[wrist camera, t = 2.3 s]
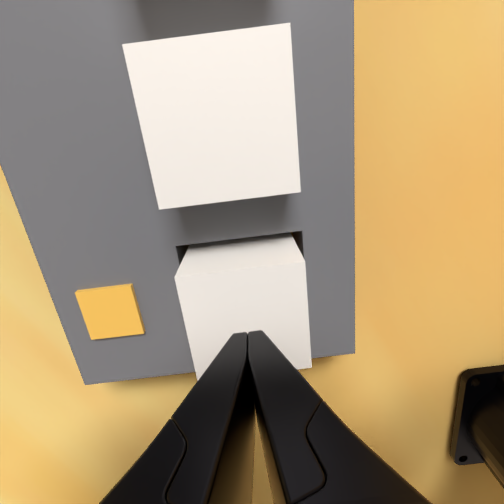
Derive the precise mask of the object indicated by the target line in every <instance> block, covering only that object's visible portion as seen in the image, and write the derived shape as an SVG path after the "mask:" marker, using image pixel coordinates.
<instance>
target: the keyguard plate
mask: <svg viewBox="0 0 504 504" xmlns="http://www.w3.org/2000/svg"><path fill="white" fill-rule="evenodd" d="M283 23H290V27H291V42H292V58H293V74H294V90H295V106H296V122H297V138H298V154H299V170H300V186H301V192H298V193H290V194H282V195H274V196H266V197H258V198H250V199H241V200H233V201H225V202H217V203H209V204H201V205H193V206H185V207H177V208H168V209H160V210H159V207H158V203H157V198H156V194H155V189H154V185H153V180H152V176H151V171H150V167H149V162H148V158H147V154H146V149H145V145H144V140H143V136H142V131H141V127H140V122H139V118H138V113H137V109H136V104H135V100H134V96H133V91H132V87H131V82H130V78H129V73H128V69H127V64H126V60H125V55H124V51H123V47H122V44H128V43H136V42H143V41H151V40H159V39H167V38H174V37H182V36H190V35H198V34H205V33H213V32H221V31H229V30H237V29H244V28H252V27H260V26H268V25H275V24H283ZM0 165H1V167H2V170H3V172H4V175H5V178H6V180H7V183H8V185H9V188H10V191H11V193H12V196H13V199H14V201H15V204H16V206H17V209H18V212H19V214H20V217H21V219H22V222H23V225H24V227H25V230H26V232H27V235H28V238H29V240H30V243H31V245H32V248H33V251H34V253H35V256H36V258H37V261H38V264H39V266H40V269H41V271H42V274H43V277H44V279H45V282H46V284H47V287H48V290H49V292H50V295H51V298H52V300H53V303H54V305H55V308H56V311H57V313H58V316H59V318H60V321H61V324H62V326H63V329H64V331H65V334H66V337H67V339H68V342H69V344H70V347H71V350H72V352H73V355H74V357H75V360H76V363H77V365H78V368H79V370H80V373H81V376H82V378H83V381H84V383H85V385H89V384H98V383H106V382H115V381H123V380H132V379H140V378H149V377H157V376H166V375H174V374H183V373H191V372H195V368H194V363H193V359H192V354H191V350H190V345H189V341H188V336H187V332H186V328H185V323H184V319H183V314H182V310H181V305H180V301H179V296H178V292H177V287H176V283H175V278H174V277H175V275H176V273H177V270H178V268H179V266H180V264H181V262H182V260H183V258H184V256H185V254H186V251H187V249H188V247H189V245H190V244H197V243H205V242H213V241H221V240H229V239H238V238H246V237H254V236H262V235H271V234H279V233H287V232H293V238H294V240H295V242H296V244H297V246H298V248H299V250H300V252H301V254H302V256H303V258H304V260H305V266H306V282H307V298H308V313H309V329H310V345H311V358H319V357H327V356H336V355H344V354H353V353H355V212H354V0H0Z"/></svg>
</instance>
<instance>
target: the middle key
mask: <svg viewBox="0 0 504 504" xmlns="http://www.w3.org/2000/svg"><path fill="white" fill-rule="evenodd" d="M122 47H123V51H124V55H125V60H126V64H127V69H128V73H129V78H130V82H131V87H132V91H133V96H134V100H135V104H136V109H137V113H138V118H139V122H140V127H141V131H142V136H143V140H144V145H145V149H146V154H147V158H148V162H149V167H150V171H151V176H152V180H153V185H154V189H155V194H156V198H157V203H158V207H159V210H160V209H168V208H177V207H185V206H193V205H201V204H209V203H217V202H225V201H233V200H241V199H250V198H258V197H266V196H274V195H282V194H290V193H298V192H301V186H300V170H299V154H298V138H297V122H296V106H295V90H294V74H293V58H292V42H291V27H290V23H283V24H275V25H268V26H260V27H252V28H244V29H237V30H229V31H221V32H213V33H205V34H198V35H190V36H182V37H174V38H167V39H159V40H151V41H143V42H136V43H128V44H122Z"/></svg>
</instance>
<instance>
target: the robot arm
mask: <svg viewBox="0 0 504 504" xmlns="http://www.w3.org/2000/svg"><path fill="white" fill-rule="evenodd" d="M255 410H256V414H255ZM256 416H257V422H258V427H259V432H260V437H261V442H262V447H263V452H264V457H265V462H266V467H267V472H268V477H269V482H270V487H271V491H272V496H273V501H274V504H433V503H431V502H430V501H429V500H427V499H426V498H425V497H424V496H423V495H422V494H420V493H419V492H418V491H417V490H416V489H415V488H414V487H413V486H411V485H410V484H409V483H408V482H407V481H406V480H405V479H404V478H403V477H402V476H400V475H399V474H398V473H397V472H396V471H395V470H394V469H393V468H392V467H390V466H389V465H388V464H387V463H386V462H385V461H384V460H383V459H382V458H380V457H379V456H378V455H377V454H376V453H375V452H374V451H373V450H372V449H370V448H369V447H368V446H367V445H366V444H365V443H364V442H363V441H362V440H361V439H360V438H359V437H358V436H357V435H355V434H354V433H353V432H352V431H351V430H350V429H349V428H348V427H347V426H346V425H345V424H344V422H343V421H342V420H341V419H340V418H339V417H338V416H337V415H336V414H335V413H334V412H333V411H332V409H331V408H330V407H329V406H328V405H327V404H326V402H324V401H323V399H322V398H321V397H320V396H319V395H318V393H317V392H316V391H315V390H314V389H313V388H312V387H311V385H310V384H309V383H308V382H307V381H306V380H305V379H304V377H303V376H302V375H301V374H300V373H299V372H298V371H297V369H296V368H295V367H294V366H293V365H292V364H291V362H290V361H289V360H288V359H287V358H286V357H285V356H284V354H283V353H282V352H281V351H280V350H279V349H278V348H277V346H276V345H275V344H274V343H273V342H272V341H271V339H270V338H269V337H268V336H267V335H266V334H265V333H264V332H263V331H262V330H257V331H250V332H248V334H247V332H240V333H233V334H232V335H231V337H230V338H229V339H228V341H227V342H226V343H225V345H224V346H223V347H222V349H221V350H220V352H219V353H218V354H217V356H216V357H215V358H214V360H213V361H212V362H211V364H210V365H209V366H208V368H207V369H206V370H205V372H204V373H203V375H202V376H201V377H200V379H199V380H198V381H197V383H196V384H195V385H194V387H193V388H192V389H191V391H190V392H189V394H188V395H187V396H186V398H185V399H184V400H183V402H182V403H181V404H180V406H179V407H178V408H177V410H176V411H175V412H174V414H173V415H172V417H171V419H169V420H168V422H167V423H166V424H165V426H164V427H163V429H162V430H161V431H160V433H159V434H158V435H157V436H156V438H155V439H154V440H153V442H152V443H151V444H150V445H149V447H148V448H147V449H146V450H145V452H144V453H143V454H142V455H141V456H140V457H139V459H138V460H137V461H136V462H135V463H134V464H133V466H132V467H131V468H130V469H129V470H128V471H127V473H126V474H125V475H124V476H123V477H122V478H121V479H120V480H119V482H118V483H117V484H116V485H115V486H114V487H113V488H112V489H111V491H110V492H109V493H108V494H107V495H106V496H105V497H104V498H103V499H102V501H101V502H100V503H99V504H252V487H253V465H254V444H255V419H256ZM450 456H451V457H452V459H453V460H454V462H455V463H456V464H458V465H467V464H475V463H485V464H486V465H487V467H488V468H489V469H490V471H491V472H492V474H493V475H494V476H495V478H496V479H497V480H498V482H499V483H500V484H501V486H502V487H503V488H504V365H499V366H491V367H482V368H474V369H469V370H467V371H465V372H464V373H463V374H462V376H461V380H460V387H459V394H458V401H457V408H456V415H455V422H454V429H453V436H452V442H451V449H450Z"/></svg>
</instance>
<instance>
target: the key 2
mask: <svg viewBox="0 0 504 504" xmlns="http://www.w3.org/2000/svg"><path fill="white" fill-rule="evenodd" d="M174 278H175V283H176V287H177V292H178V296H179V301H180V305H181V310H182V314H183V319H184V323H185V328H186V332H187V336H188V341H189V345H190V350H191V354H192V359H193V363H194V368H195V372H196V377H197V381H198V380H199V379H200V377H201V376H202V375H203V373H204V372H205V370H206V369H207V368H208V366H209V365H210V364H211V362H212V361H213V360H214V358H215V357H216V356H217V354H218V353H219V352H220V350H221V349H222V347H223V346H224V345H225V343H226V342H227V341H228V339H229V338H230V337H231V335H232V334H233V333H240V332H247V334H248V332H250V331H257V330H262V331H263V332H264V333H265V334H266V335H267V336H268V337H269V338H270V339H271V341H272V342H273V343H274V344H275V345H276V346H277V348H278V349H279V350H280V351H281V352H282V353H283V354H284V356H285V357H286V358H287V359H288V360H289V361H290V362H291V364H292V365H293V366H294V367H295V368H296V369H305V368H312V361H311V345H310V329H309V313H308V298H307V282H306V266H305V260H304V258H303V256H302V254H301V252H300V250H299V248H298V246H297V244H296V242H295V240H294V238H293V236H292V235H291V233H290V232H287V233H279V234H271V235H262V236H254V237H246V238H238V239H229V240H221V241H213V242H205V243H197V244H190V245H189V247H188V249H187V251H186V254H185V256H184V258H183V260H182V262H181V264H180V266H179V268H178V270H177V273H176V275H175V277H174Z"/></svg>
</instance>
